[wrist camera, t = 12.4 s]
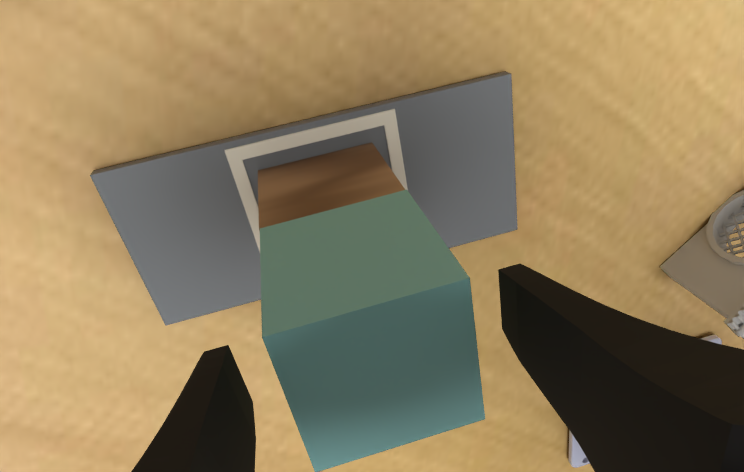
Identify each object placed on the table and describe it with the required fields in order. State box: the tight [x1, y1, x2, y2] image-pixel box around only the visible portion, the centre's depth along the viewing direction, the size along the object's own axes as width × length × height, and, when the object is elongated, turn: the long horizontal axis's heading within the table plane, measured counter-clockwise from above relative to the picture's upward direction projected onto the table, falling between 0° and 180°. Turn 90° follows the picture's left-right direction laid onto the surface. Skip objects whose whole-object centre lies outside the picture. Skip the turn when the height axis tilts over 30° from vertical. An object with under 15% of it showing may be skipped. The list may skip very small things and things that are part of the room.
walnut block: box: [258, 142, 405, 231], centre depth 18 cm, size 4×4×5 cm
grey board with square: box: [90, 71, 517, 325], centre depth 20 cm, size 16×7×1 cm, turn 100°
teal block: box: [260, 190, 485, 472], centre depth 14 cm, size 4×4×5 cm
